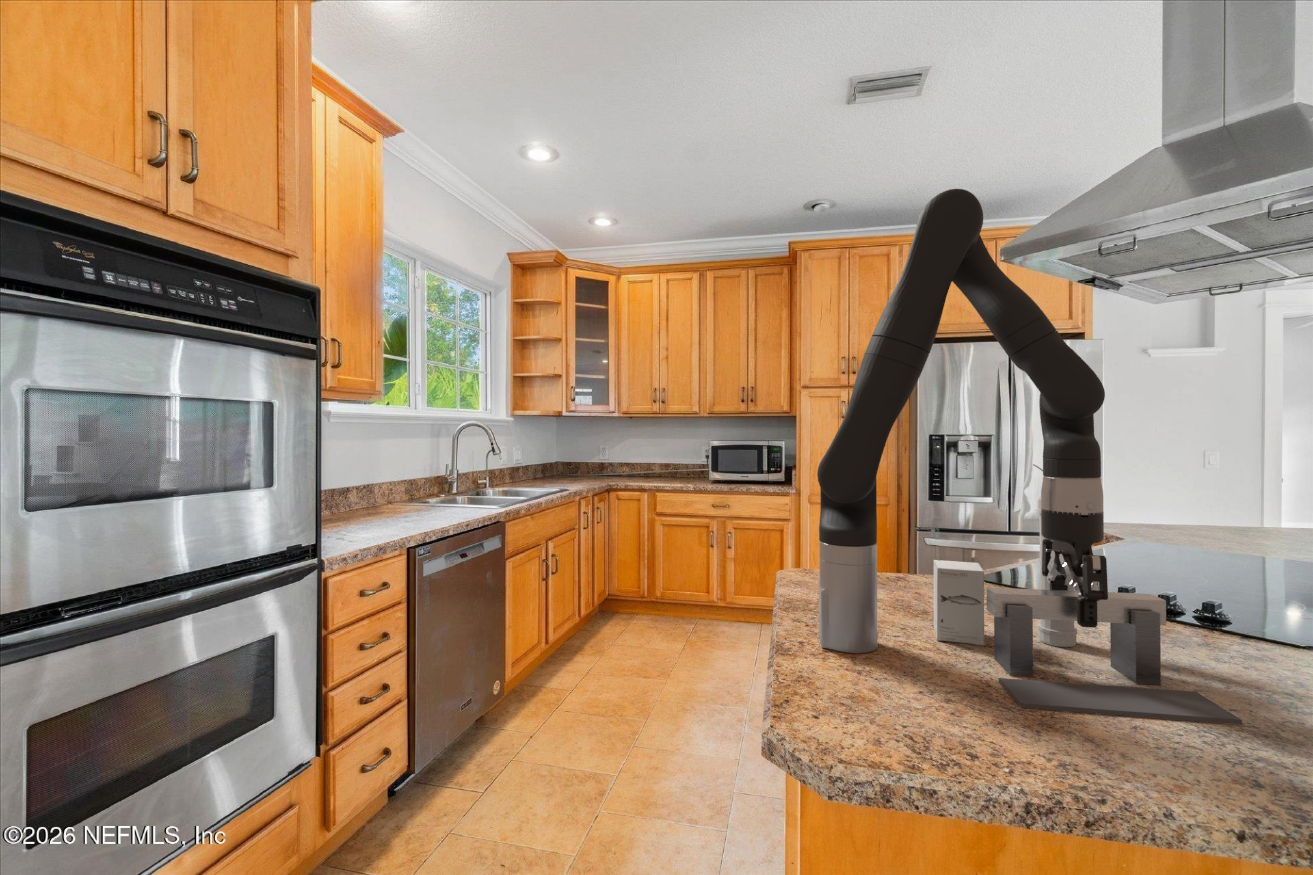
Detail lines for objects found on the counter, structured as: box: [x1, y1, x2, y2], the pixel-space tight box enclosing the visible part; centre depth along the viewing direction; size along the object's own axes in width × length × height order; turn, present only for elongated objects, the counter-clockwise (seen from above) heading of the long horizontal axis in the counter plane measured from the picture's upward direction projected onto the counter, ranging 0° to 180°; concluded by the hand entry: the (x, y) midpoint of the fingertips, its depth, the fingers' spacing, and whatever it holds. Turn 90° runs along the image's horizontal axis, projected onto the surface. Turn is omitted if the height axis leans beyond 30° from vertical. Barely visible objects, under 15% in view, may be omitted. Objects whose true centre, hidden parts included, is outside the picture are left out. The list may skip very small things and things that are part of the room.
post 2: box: [1109, 610, 1162, 686], centre depth 85 cm, size 3×6×10 cm, turn 168°
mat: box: [998, 677, 1243, 726], centre depth 77 cm, size 24×8×1 cm, turn 78°
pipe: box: [1032, 463, 1078, 648], centre depth 99 cm, size 6×6×30 cm
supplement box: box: [933, 559, 985, 647], centre depth 102 cm, size 7×7×13 cm
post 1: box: [993, 605, 1034, 678], centre depth 88 cm, size 3×6×10 cm, turn 168°
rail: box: [986, 587, 1167, 626], centre depth 87 cm, size 22×4×4 cm, turn 78°
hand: (1072, 617), depth 87 cm, fingers open, 8 cm apart
